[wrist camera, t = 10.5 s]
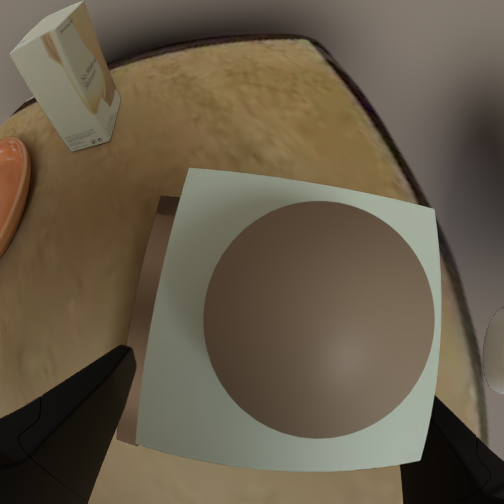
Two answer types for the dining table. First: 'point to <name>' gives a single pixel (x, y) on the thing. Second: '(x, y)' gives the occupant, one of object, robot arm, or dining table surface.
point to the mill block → (293, 327)
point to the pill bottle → (494, 353)
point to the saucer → (12, 187)
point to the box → (146, 309)
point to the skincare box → (70, 77)
